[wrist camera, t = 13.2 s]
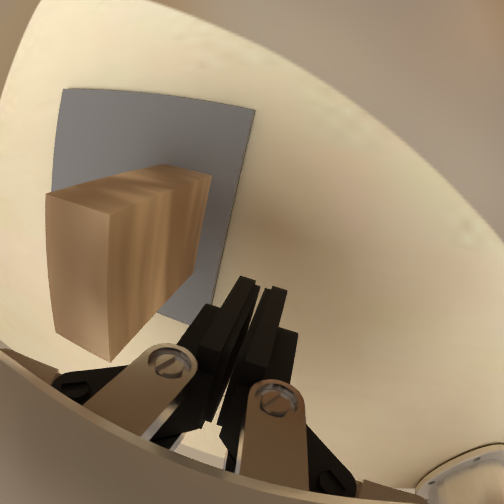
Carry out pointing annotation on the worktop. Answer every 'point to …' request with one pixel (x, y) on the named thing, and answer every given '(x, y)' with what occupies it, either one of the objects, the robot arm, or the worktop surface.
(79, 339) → the oak slab
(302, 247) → the worktop surface
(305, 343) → the worktop surface
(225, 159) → the rubber mat
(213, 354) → the robot arm
